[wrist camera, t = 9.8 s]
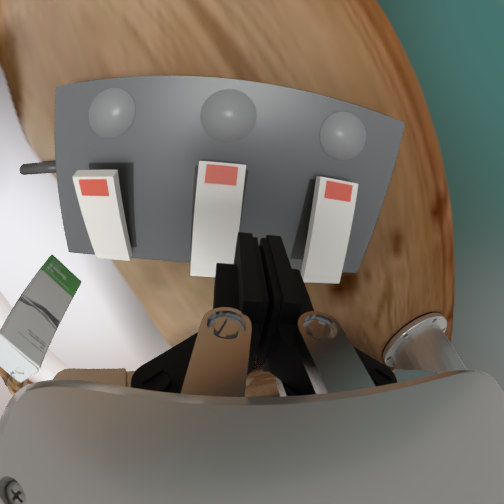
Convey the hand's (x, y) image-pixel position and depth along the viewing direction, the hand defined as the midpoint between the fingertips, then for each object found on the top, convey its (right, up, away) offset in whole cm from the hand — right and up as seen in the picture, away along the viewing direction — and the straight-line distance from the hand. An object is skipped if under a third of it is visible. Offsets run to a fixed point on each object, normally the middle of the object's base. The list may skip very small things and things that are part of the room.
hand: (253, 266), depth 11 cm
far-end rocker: (+5, +2, +9) cm, 11 cm away
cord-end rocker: (-10, +3, +6) cm, 13 cm away
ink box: (-23, -3, +14) cm, 27 cm away
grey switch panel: (-6, +7, +9) cm, 13 cm away
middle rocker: (-2, +3, +8) cm, 8 cm away
